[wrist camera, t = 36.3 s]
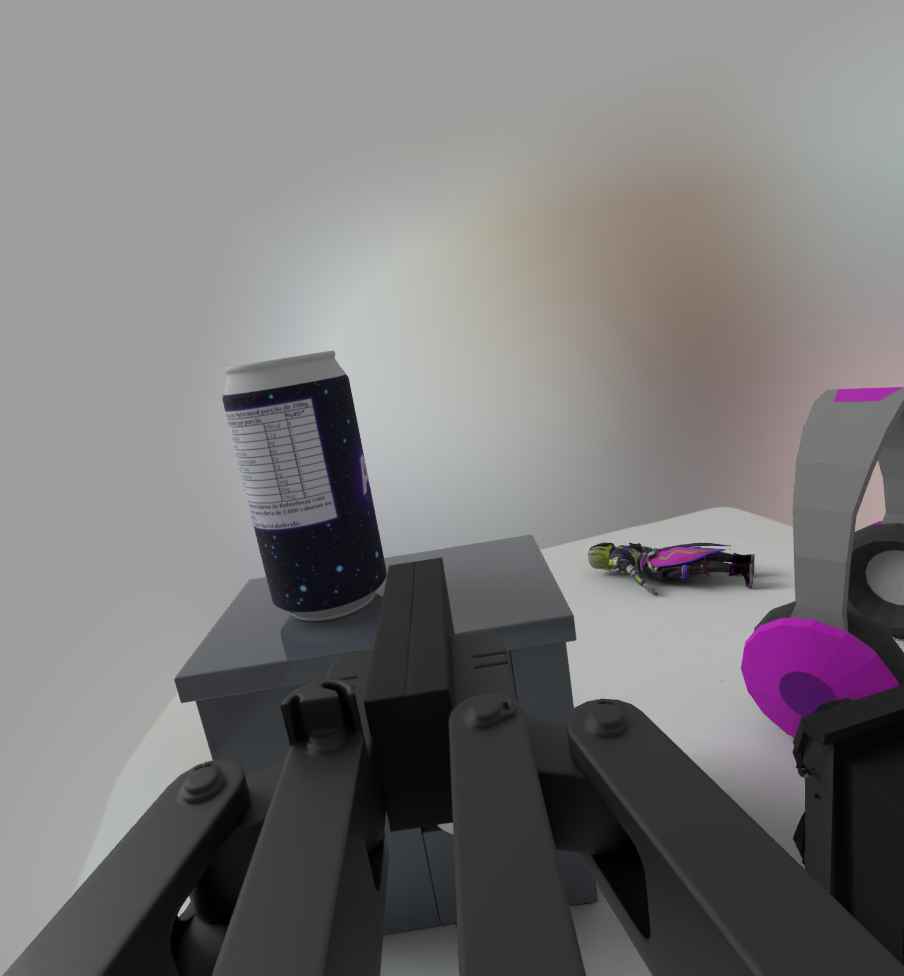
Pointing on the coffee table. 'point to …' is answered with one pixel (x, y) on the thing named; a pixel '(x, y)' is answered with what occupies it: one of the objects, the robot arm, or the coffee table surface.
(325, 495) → the beverage can
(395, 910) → the cabinet
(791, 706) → the headphones
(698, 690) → the coffee table surface
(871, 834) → the camera
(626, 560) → the character figure
